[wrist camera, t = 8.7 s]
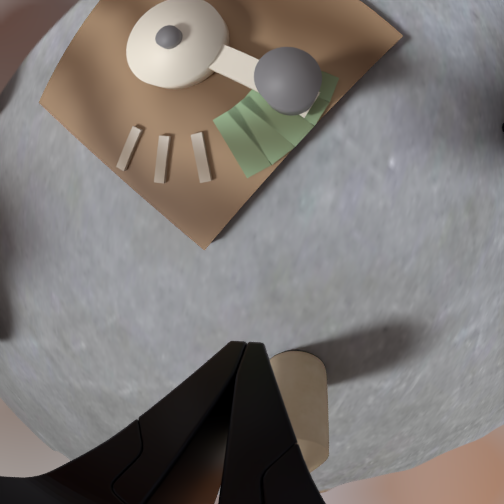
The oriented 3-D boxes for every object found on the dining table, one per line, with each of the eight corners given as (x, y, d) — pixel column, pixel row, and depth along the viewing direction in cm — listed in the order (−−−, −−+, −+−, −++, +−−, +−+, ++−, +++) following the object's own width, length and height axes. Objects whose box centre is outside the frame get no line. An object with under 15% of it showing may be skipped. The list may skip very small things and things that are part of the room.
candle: (300, 339, 22) (294, 449, 13) (338, 375, 23) (344, 475, 14) (250, 368, 24) (226, 466, 15) (289, 399, 25) (279, 491, 16)
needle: (124, 72, 15) (71, 60, 10) (168, -2, 12) (128, -35, 8) (284, 150, 16) (277, 156, 11) (337, 66, 13) (354, 37, 8)
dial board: (185, -73, 10) (179, -82, 9) (397, 41, 13) (404, 34, 11) (48, 102, 17) (36, 102, 16) (209, 243, 20) (203, 252, 19)
